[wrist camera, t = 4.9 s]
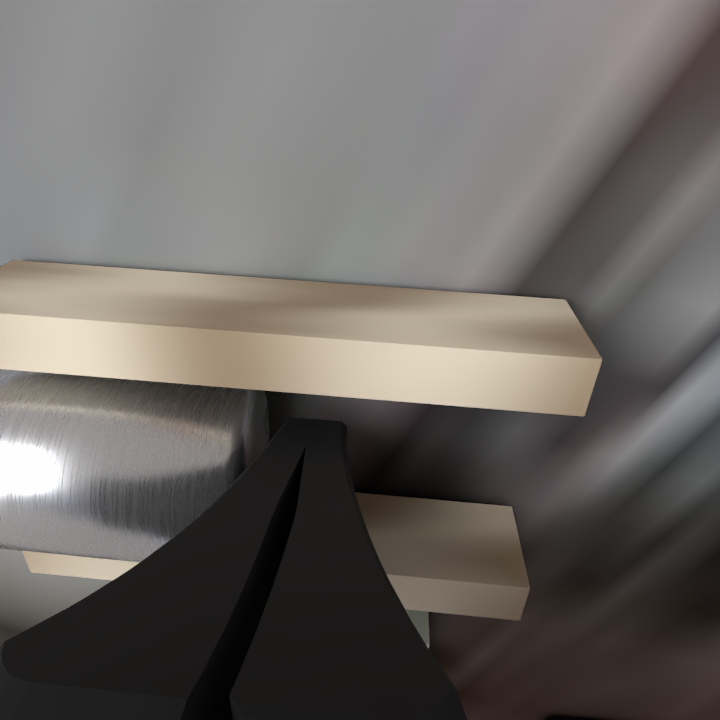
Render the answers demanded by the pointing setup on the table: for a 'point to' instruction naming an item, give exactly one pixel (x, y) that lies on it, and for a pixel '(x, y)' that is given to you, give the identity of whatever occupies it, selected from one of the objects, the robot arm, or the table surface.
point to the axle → (117, 459)
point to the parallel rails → (321, 384)
